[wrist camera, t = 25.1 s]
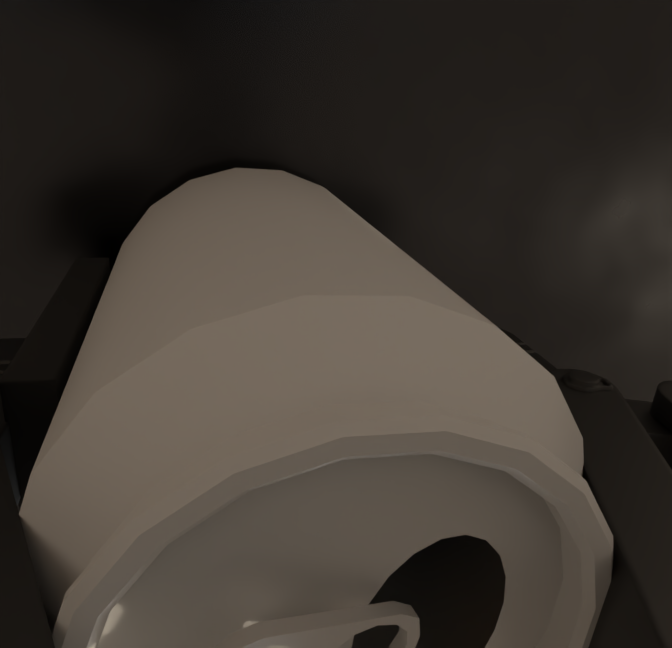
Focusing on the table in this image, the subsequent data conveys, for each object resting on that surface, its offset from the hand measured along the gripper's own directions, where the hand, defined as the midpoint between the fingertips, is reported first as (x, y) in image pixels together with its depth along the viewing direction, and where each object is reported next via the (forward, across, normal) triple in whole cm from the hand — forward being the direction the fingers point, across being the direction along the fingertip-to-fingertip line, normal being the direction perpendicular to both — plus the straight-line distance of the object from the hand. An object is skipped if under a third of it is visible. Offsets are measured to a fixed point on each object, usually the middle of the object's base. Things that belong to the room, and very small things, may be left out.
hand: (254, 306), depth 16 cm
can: (+1, 0, 0) cm, 1 cm away
